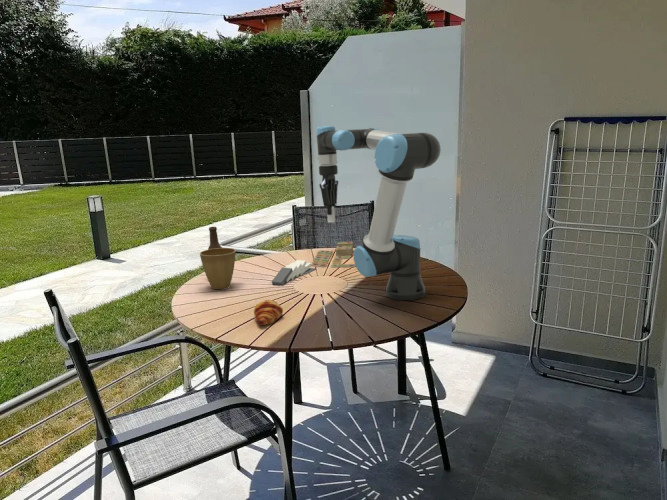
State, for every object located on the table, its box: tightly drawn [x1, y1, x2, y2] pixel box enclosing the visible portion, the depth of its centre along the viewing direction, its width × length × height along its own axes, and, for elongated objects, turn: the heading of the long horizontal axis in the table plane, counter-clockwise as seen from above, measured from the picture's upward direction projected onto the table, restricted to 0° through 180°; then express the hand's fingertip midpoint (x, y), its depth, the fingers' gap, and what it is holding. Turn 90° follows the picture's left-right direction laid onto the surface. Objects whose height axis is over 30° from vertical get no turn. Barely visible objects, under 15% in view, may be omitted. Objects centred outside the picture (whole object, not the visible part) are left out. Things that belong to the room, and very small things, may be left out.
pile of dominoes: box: [311, 241, 356, 269], centre depth 261 cm, size 35×27×6 cm
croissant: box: [253, 299, 284, 326], centre depth 183 cm, size 21×10×8 cm, turn 176°
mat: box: [302, 267, 317, 275], centre depth 241 cm, size 9×8×1 cm
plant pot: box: [199, 247, 237, 290], centre depth 220 cm, size 15×15×16 cm
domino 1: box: [271, 266, 293, 286], centre depth 225 cm, size 2×5×10 cm
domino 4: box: [294, 259, 308, 278], centre depth 236 cm, size 2×5×10 cm
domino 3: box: [289, 261, 302, 281], centre depth 232 cm, size 2×5×10 cm
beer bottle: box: [207, 226, 223, 250], centre depth 233 cm, size 8×8×24 cm
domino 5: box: [298, 262, 312, 276], centre depth 239 cm, size 2×5×10 cm
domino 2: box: [284, 264, 297, 283], centre depth 229 cm, size 2×5×10 cm
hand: (331, 222), depth 215 cm, fingers closed
